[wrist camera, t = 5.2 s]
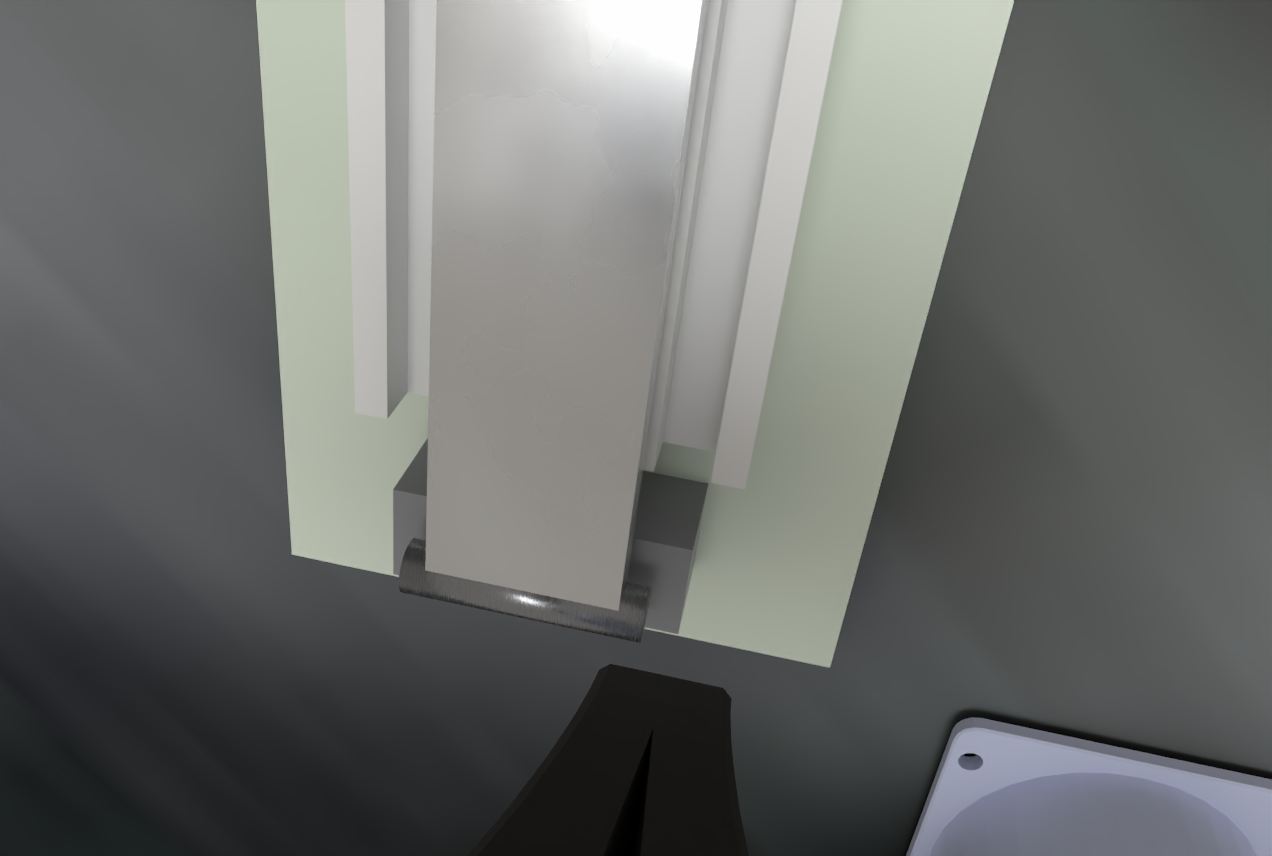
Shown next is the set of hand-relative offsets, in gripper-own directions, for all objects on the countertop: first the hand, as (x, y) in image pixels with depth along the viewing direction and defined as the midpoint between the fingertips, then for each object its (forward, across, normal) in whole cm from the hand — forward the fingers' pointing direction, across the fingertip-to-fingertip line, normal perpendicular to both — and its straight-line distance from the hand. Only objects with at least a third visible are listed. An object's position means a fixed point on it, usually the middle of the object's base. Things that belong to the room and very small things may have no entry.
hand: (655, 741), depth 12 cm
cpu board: (+10, +3, -2) cm, 11 cm away
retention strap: (+7, +3, -3) cm, 8 cm away
